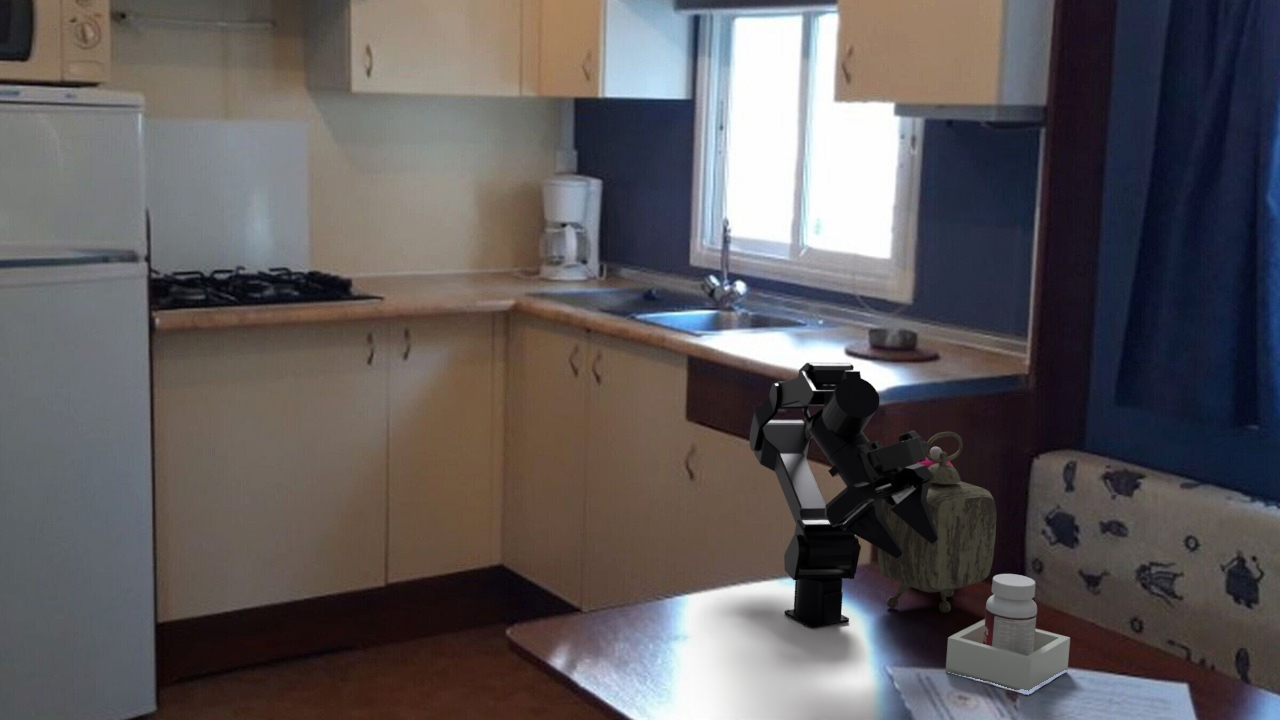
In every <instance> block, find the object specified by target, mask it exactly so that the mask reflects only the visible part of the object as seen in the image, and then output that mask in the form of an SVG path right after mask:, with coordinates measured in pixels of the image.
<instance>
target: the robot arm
mask: <svg viewBox="0 0 1280 720" xmlns="http://www.w3.org/2000/svg"><path fill="white" fill-rule="evenodd" d="M879 405H880V394H879V392H877V390H876V388H875V387H874V385H872V383H870V382H869V381H868V380H866V379H863V378H862V377H861V371H860V370H854V365H853V364H852V363H851V362H806V363H805V364H803V365H802V367H801V368H800V369H798V374H797V376H796V377H793V378H790V379H789V378H788V379H785V380H783V381H782V380H778V381H777V382H773V383H772V384H771V386H770V391H769V396H768V397H767V398H766V399H765V400H764V401H763V402H762V403H761V404H760V405H759V406H758V407H757V408H756V409H755V410H754V413H753V417H752V421H751V427H750V431H749V447H750V450H751V452H753V453H754V456H755V458H756V459H757V461H758V463H759V464H760V465H761V466H762V467H764V468H766V469H769V470H770V471H772V472H774V473H775V475H776V478H777V480H778V482H779V483H778V484H779V485H780V487H781V490H782V493H783V495H784V498H785V501H786V503H787V505H788V507H789V510H790V513H791V515H792V517H793V521H794V522H795V528H794V534H793V536H792V538H791V540H790V542H789V544H788V546H787V548H786V550H785V552H784V554H783V561H784V571H785V573H787V574H788V576H789V577H790V578H791V579H792V580H793V581H794V600H793V602H794V603H793V608H792V609H786V610H784V614H783V615H785V616H787V618H790V619H792V620H794V621H796V622H797V623H800V624H802V625H804V626H805V627H807V628H810V629H816V628H817V629H818V628H823V627H828V626H834V625H839V624H840V625H841V624H847V623H849V622H850V617H848V616H846V615H843V614H842V609H843V608H842V607H843V579H849V580H854V579H855V575H856V572H857V567H858V563H859V558H860V553H861V550H862V545H861V544H860V542H859V538H860V539H863V541H866V542H868V543H869V544H871V545H872V546H874V547H876V548H877V549H878V548H880V549H881V550H883V551H885V552H886V553H888V554H890V555H891V556H893V557H895V558H899V557H900V556H902V555H903V551H902V549H901V547H900V545H899V543H898V541H897V540H896V538H895V536H894V535H893V533H892V531H891V529H890V528H889V526H888V524H887V522H886V521H885V519H884V517H883V515H882V502H883V499H884V500H885V501H886V502H887V503H889V504H890V505H892V506H894V505H896V506H895V507H893V508H892V509H891V510H892V511H893V512H894V513H895V514H896V515H898V516H899V517H900V518H901V519H902V520H903V521H905V522H906V523H907V524H908V525H909V526H910V527H912V528H913V529H914V530H915V531H916V532H917V533H919V534H920V535H921V536H922V537H923V538H925V539H926V540H927V541H929V542H930V543H931V544H933V543H935V542H936V541H937V540H938V535H937V532H936V529H935V526H934V523H933V520H932V517H931V514H930V511H929V507H928V503H927V494H928V489H929V487H931V481H930V480H931V479H932V478H933V477H934V476H933V475H932V473H931V472H930V471H929V469H928V468H927V466H926V465H922V464H917V463H918V462H922V461H925V460H926V455H925V451H926V448H927V442H928V441H924V439H923V437H922V435H919V433H918V432H917V431H916V430H911V431H908V432H906V433H903V434H902V433H901V434H899V436H898V442H897V443H894V444H890V445H888V446H884V445H883V443H882V442H881V441H879V440H877V439H875V440H871V441H870V440H869V439H868V437H867V435H865V433H864V432H863V430H864V429H865V427H866V426H867V425H868V424H869V422H870V420H871V419H872V417H873V416H874V415H875V413H876V412H877V410H878V408H879ZM809 407H823V408H822V409H820V410H818V411H817V412H816V413H815V414H813V415H811V414H810V411H809ZM779 410H802V412H803V415H804V418H803V419H773V418H774V417H775V416H776V415H777V413H778V411H779ZM812 439H813V440H814V441H815V442H816V444H817V445H818V447H819V448H820V450H821V451H822V453H823V454H824V456H825V457H826V458H827V460H828V461H829V463H830V465H832V467H831V468H830V469H829V470H828V473H829V474H830V475H831V477H832V478H834V477H838V476H839V477H840V478H841V481H842V482H843V483H844V485H845V486H846V487H845V488H844V489H843V490H842V491H840V492H839V493H838V494H837V495H836V496H835V497H833V498H832V499H831V500H829V502H828V503H827V502H826V501H825V498H824V496H823V494H822V491H821V489H820V486H819V485H818V483H817V479H816V477H815V475H814V473H813V470H812V468H811V466H810V464H809V461H808V451H809V450H810V447H811V443H812ZM858 537H859V538H858Z"/></svg>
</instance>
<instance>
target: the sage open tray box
mask: <svg viewBox="0 0 1280 720" xmlns="http://www.w3.org/2000/svg"><path fill="white" fill-rule="evenodd" d="M984 628H985V618H983V619H982V620H980V621H978V622H976V623H974V624H972V625H970V626H968V627H965V628H964V629H962V630H960V631H958V632H956V633H954V634H952V635H950V636H949V637H947V646H946V648H947V649H946V660H945V661H946V662H945V673H946V672H950V673H954V674H957V675H961V676H966V677H972V678H975V679H980V680H983V681H989V682H992V683H995V684H998V685H1001V686H1004V687H1007V688H1011V689H1014V690H1020V689H1024V690H1028V691H1029V690H1030V689H1032V688H1033V687H1035V686H1037V685H1039V684H1040V683H1042V682H1044V681H1046V680H1048V679H1049V678H1051V677H1053V676H1054V675H1056V674H1058V673H1060V672H1062V671H1064V670H1067V671H1068V670H1069V669H1068V668H1069V667H1068V666H1069V655H1070V644H1071V637H1069V636H1065V635H1062V634H1059V633H1054V632H1050V631H1046V630H1044V629H1039V628H1036V629H1035V639H1034V652H1033V653H1031V654H1030V655H1028V656H1026V655H1022V654H1018V653H1015V652H1011V651H1007V650H1004V649H1000V648H996V647H992V646H989V645H985V644H983V639H984Z"/></svg>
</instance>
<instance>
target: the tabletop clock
mask: <svg viewBox="0 0 1280 720" xmlns="http://www.w3.org/2000/svg"><path fill="white" fill-rule="evenodd" d="M945 437H946V438H948V437H949V438H950V437H951V438H954V439H956V441H958V443H959V446H958V450H957V451H956V452H955V453H953V454H951V455H948V454H947V452H946V451H942V452H941V453H940V455H939V458H934V457H931V455H930V453H929V449H930V446H931V445H932V444H933V442H935V441H936V440H939V439H941V438H945ZM926 442H927V448H926V451H925V453H924V454H925V457H927V458H928V460H930V461H932V462H935V463H939V464H934V465H931V466H930V467H928V469H929V471H930V472H931V473H932V475H933V476H934V477H933V478H932V479H931V480H930V481H931V487H929V489H928V494H927V503H928V507H929V511H930V514H931V517H932V520H933V523H934V526H935V529H936V532H937V535H938V540H937V541H936V542H935V543H933V544H931V543H930V542H929V541H927V540H926V539H925V538H923V537H922V536H921V535H920V534H919V533H917V532H916V531H915V530H914V529H913V528H912V527H910V526H909V525H908V524H907V523H906V522H905V521H903V520H902V519H901V518H900V517H899V516H898V515H896V514H895V513H894V512H893V511H892V510H891V509H892V508H893V507H895V506H896V505H894V506H892V505H890V504H889V503H887V502H886V501H885V500H884V499H883V500H882V515H883V517H884V519H885V521H886V522H887V524H888V526H889V528H890V529H891V531H892V533H893V535H894V536H895V538H896V540H897V541H898V543H899V545H900V547H901V549H902V551H903V555H902V556H900V557H899V558H895V557H893V556H891V555H890V554H888V553H886V552H885V551H883V550H881V549H880V548H878V547H877V561H878V567H879V571H880V575H881V576H883V577H886V578H889V579H891V580H894V581H897V582H899V583H901V586H900V587H899V589H898V590H897V592H896V594H895V596H893V595H892V596H889V597H888V598H887V599H886V606H887V607H889V608H890V609H896V607H898V606H899V599H900V597H902V595H903V594H905V592H906V591H908V589H911V588H914V589H916V590H919V591H920V592H924V593H936V592H937V593H938V592H940V597H941V600H942V601H941V602H940V603H939V605H938V608H939V611H940V612H941V613H943V614H948V613H949V612H950V611H951V607H952V606H951V604H950V602H949V601H947V598H950V597H952V596H954V594H955V590H956V589H959V588H963V587H966V586H970V585H973V584H978V583H980V582H982V581H984V580H985V579H986V578H987V577H989V575H990V572H991V569H992V565H993V560H994V554H995V544H996V533H997V508H996V507H997V506H996V501H995V499H994V497H993V495H992V494H991V492H990V491H989V490H988V489H985V488H984V487H980V486H977V485H975V484H972V483H968V482H964V481H961V477H960V475H959V472H958V470H957V469H956V468H955V467H954V466H951V465H948V464H947V462H948V461H949V462H951V461H952V460H954V459H956V458H958V457H959V455H960V454H961V453H962V450H963V447H964V444H963V440H962V437H961V436H960V435H959V434H958V433H956V432H953V431H942V432H938V433H935V434H934V435H933V436H931V437H930V438H929V439H928V441H926Z"/></svg>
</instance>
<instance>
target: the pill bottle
mask: <svg viewBox="0 0 1280 720" xmlns="http://www.w3.org/2000/svg"><path fill="white" fill-rule="evenodd" d="M991 593H992V595H990V597H989V598H988V599H987V601H986V604H985V605H986V606H985V616H984V617H985V618H984V619H985V628H984V639H983V644H985V645H989V646H992V647H996V648H1000V649H1004V650H1007V651H1011V652H1015V653H1018V654H1022V655H1026V656H1028V655H1030V654H1031V653H1033V652H1034V639H1035V629H1037V628H1036V627H1037V618H1038V616H1037V615H1038V606H1037V603H1036V602H1035V601H1034V600H1033V598H1035V595H1036V580H1034V579H1033V578H1031V577H1028V576H1025V575H1022V574H1021V575H1020V574H1016V573H1015V574H1014V573H1000V574H995V575H994V576H993V577H992V585H991Z"/></svg>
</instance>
